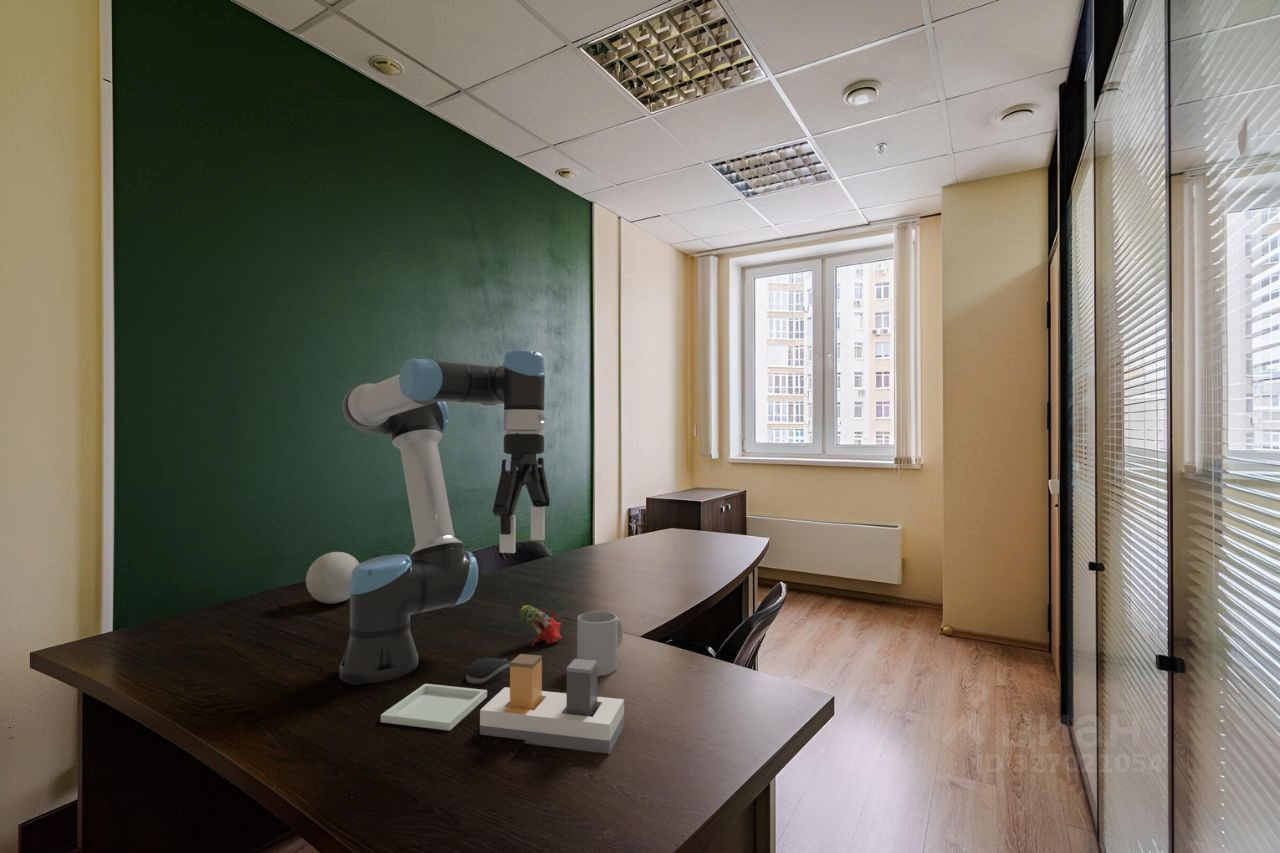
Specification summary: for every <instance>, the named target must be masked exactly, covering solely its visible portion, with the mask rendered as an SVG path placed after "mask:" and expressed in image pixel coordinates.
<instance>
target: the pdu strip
mask: <svg viewBox="0 0 1280 853" xmlns="http://www.w3.org/2000/svg"><path fill="white" fill-rule="evenodd" d="M566 700H567V692H556V691H555V692H554V691H547V690H546V691H545V690H542V702H541V703H540V704H539V706H538V707H537V708H536V709H535V710H526V709H517V708H510V687H509V686H508V687H506V686H505V687H503V688H502V689H500V691H499V692H498V693H496V695H494V696H493V698H491V699H490V700H489V701H488V702H487V703H486V704H485V705H484V706H483V707H482V708H481V709H480V710H479V715H480V716H479V735H482V736H483V735H484V736H492V737H498V738H507V739H514V740H515V739H516V740H524V741H523V744H527V745H534V746H535V745H536V746H543V747H552V748H559V749H566V750H567V749H568V750H576V751H582V752H583V751H584V752H592V753H599V754H608V755H610V754H611V753H612V750H613V748H614V746H615V744H616V743H617V741H618V739H619V737H620V734H621V733H622V731H623V729H624V728H625V698H613V697H605V696H597V711H596V713H595V714H594V716H593V717H589V716H580V715H571V714H566Z"/></svg>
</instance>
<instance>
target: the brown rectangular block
mask: <svg viewBox="0 0 1280 853" xmlns="http://www.w3.org/2000/svg"><path fill="white" fill-rule="evenodd" d="M510 661H511V662H510V672H509V688H510V708H517V709H526V710H535V709H536V708H537V707H538V706H539V704H540V703H541V702H542V691H543V689H542V688H543V681H542V680H543V655H539V654H537V655H536V654H527V653H526V654H524V653H520V654H518V655H517V656H516V657H515V658H513V660H510Z"/></svg>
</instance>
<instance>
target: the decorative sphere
mask: <svg viewBox="0 0 1280 853" xmlns="http://www.w3.org/2000/svg"><path fill="white" fill-rule="evenodd" d="M360 563H361V562H359V560H357V558H355V557H354V556H353V555H351V554H349V553H347V552H342V551H332V552H328V553H324V554H323V555H321V556H319V557H318V558H317V559H316V560H314V561H313V562H312V563H311V565H310V566H309V567H308V570H307V572H306V577H305V585H306V590H307V591H308V593H309V594H310V596H311V598H314V600H316V601H318V602H321V603H324V604H339V603H342V602H344V601H347V600H349V599H350V592H349V587H350V583H351V573H352V571H353V569H354V568H355V567H356V566H357V565H359V564H360Z"/></svg>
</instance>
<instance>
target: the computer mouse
mask: <svg viewBox="0 0 1280 853" xmlns="http://www.w3.org/2000/svg"><path fill="white" fill-rule="evenodd" d="M511 661H512V660H509V659H507V658H506V657H504V658H502V659H501V658H495V657H486V658H485V657H484V658H480V659H477V660H475V661H474V662H472V664H471V665H470V666H469V668H468V669H467V672H466V676H465V682H466V684H468V685H472V686H485V685H489V684H491V683H495V682H497V681H499V680H501V679H502V678H504V677H506V675H508V674H510V662H511Z"/></svg>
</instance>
